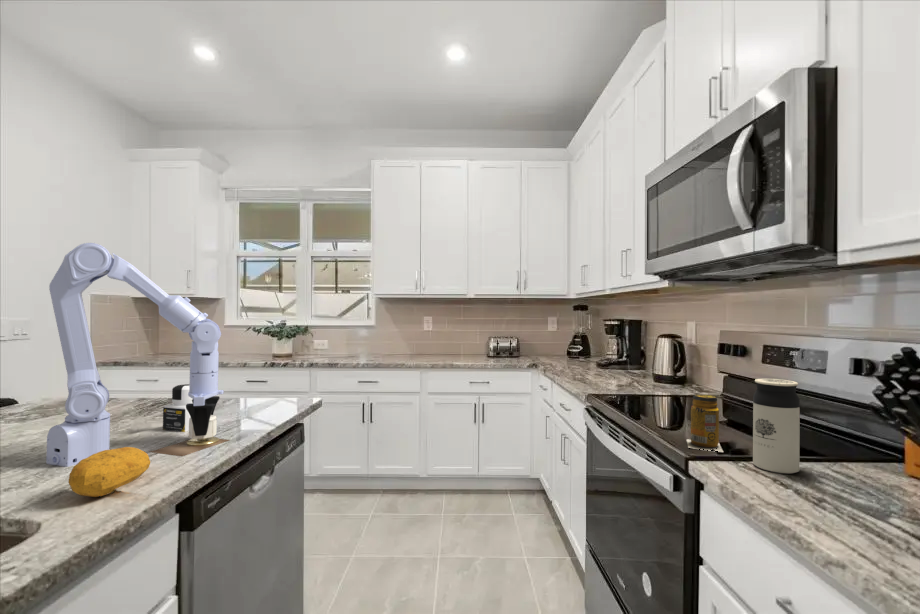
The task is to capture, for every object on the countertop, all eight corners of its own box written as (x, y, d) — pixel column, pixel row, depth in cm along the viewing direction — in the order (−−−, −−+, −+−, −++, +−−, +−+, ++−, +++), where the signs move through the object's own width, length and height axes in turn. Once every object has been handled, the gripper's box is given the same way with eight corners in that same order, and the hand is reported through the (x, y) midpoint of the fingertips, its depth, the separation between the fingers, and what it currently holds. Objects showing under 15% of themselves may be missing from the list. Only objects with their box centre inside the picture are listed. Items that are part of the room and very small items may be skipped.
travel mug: (776, 461, 101) (777, 378, 101) (809, 473, 93) (809, 383, 94) (743, 462, 100) (744, 378, 100) (774, 475, 92) (774, 384, 92)
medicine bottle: (161, 434, 117) (162, 386, 117) (186, 427, 123) (187, 382, 124) (184, 436, 115) (185, 388, 115) (207, 430, 121) (208, 383, 122)
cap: (184, 435, 106) (185, 417, 106) (209, 431, 110) (210, 413, 110) (195, 440, 102) (195, 421, 102) (220, 435, 106) (220, 417, 106)
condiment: (719, 443, 115) (719, 394, 115) (723, 453, 107) (723, 400, 107) (686, 440, 118) (686, 392, 118) (688, 449, 110) (688, 397, 110)
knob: (202, 447, 102) (202, 432, 102) (179, 444, 104) (179, 430, 104) (225, 439, 108) (225, 425, 108) (203, 437, 110) (203, 423, 110)
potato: (50, 505, 74) (51, 462, 74) (124, 475, 88) (125, 439, 88) (94, 508, 73) (95, 465, 73) (161, 478, 87) (162, 441, 87)
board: (181, 462, 96) (182, 456, 96) (148, 457, 98) (148, 451, 98) (230, 445, 108) (230, 439, 108) (199, 441, 111) (200, 436, 111)
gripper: (220, 375, 101) (219, 438, 101) (226, 367, 114) (225, 423, 114) (182, 376, 98) (181, 441, 98) (194, 368, 112) (192, 425, 112)
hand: (202, 432), depth 106 cm, fingers closed on cap, 5 cm apart
